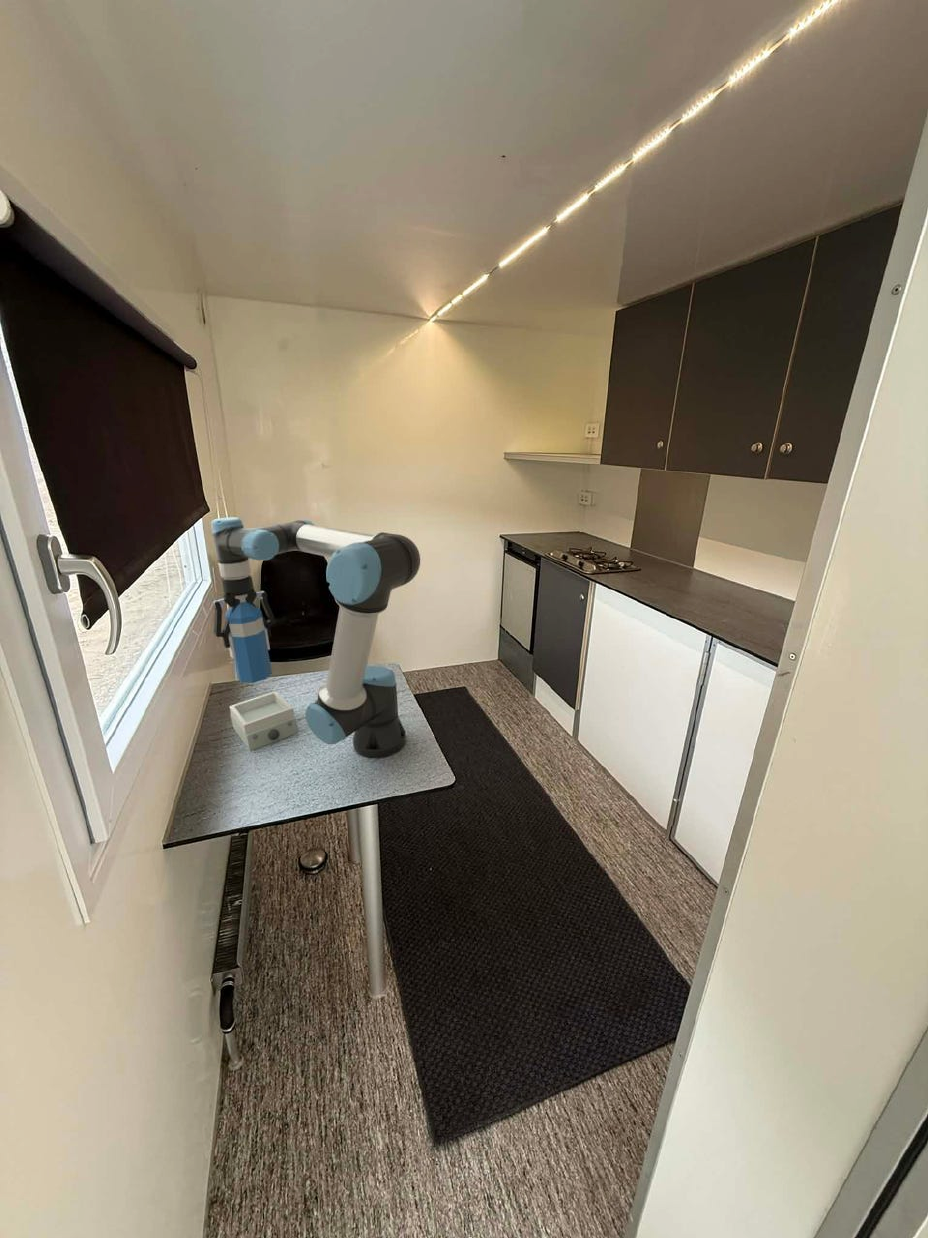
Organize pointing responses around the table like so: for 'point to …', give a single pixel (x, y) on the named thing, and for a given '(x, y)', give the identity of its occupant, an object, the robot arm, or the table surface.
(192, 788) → the table surface
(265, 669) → the water bottle
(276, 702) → the open storage box
